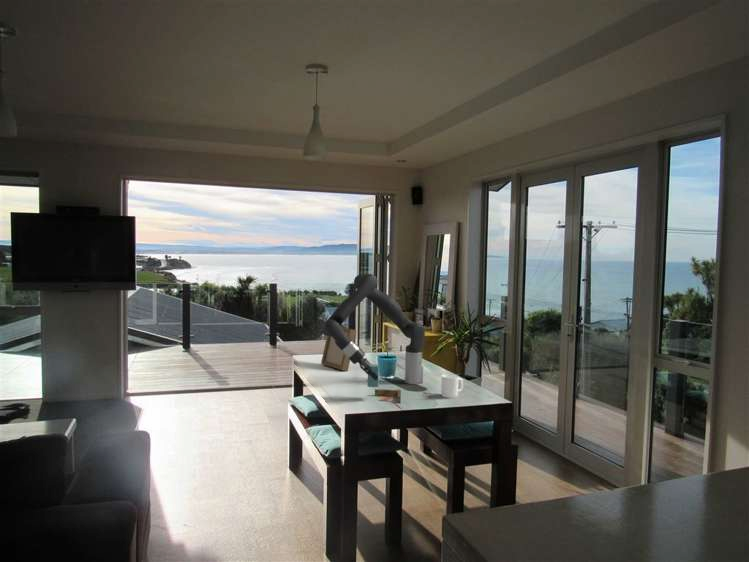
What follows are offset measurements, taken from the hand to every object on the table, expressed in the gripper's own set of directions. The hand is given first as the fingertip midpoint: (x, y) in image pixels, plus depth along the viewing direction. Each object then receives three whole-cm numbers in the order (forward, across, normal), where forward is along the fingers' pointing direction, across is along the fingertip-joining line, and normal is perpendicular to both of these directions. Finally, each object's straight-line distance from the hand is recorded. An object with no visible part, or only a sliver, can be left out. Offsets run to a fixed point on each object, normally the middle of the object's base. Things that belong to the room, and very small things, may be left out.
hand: (377, 377), depth 270 cm
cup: (+35, +11, -19) cm, 41 cm away
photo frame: (-10, +68, +26) cm, 73 cm away
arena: (+11, 0, +4) cm, 12 cm away
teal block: (+2, 0, +4) cm, 5 cm away
